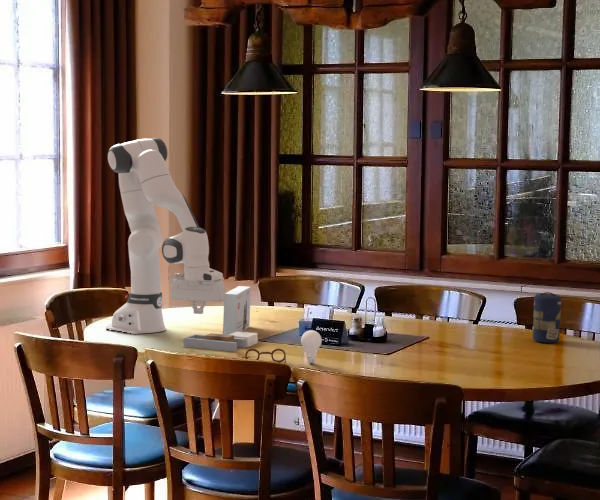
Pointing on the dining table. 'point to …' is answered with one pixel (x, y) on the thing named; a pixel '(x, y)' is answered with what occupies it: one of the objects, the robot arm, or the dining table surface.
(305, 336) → the light bulb
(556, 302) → the canister
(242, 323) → the skincare box
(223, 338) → the walnut blank
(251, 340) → the ceramic pedestal
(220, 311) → the dining table surface
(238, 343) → the grey rectangular tray
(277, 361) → the glasses
